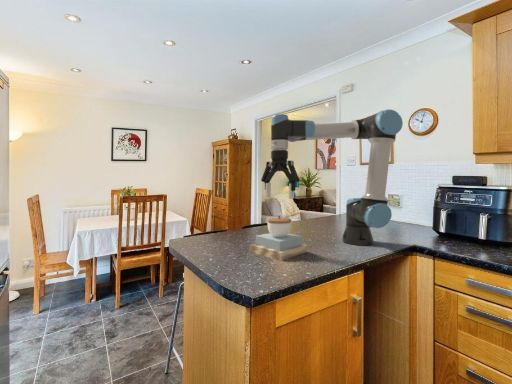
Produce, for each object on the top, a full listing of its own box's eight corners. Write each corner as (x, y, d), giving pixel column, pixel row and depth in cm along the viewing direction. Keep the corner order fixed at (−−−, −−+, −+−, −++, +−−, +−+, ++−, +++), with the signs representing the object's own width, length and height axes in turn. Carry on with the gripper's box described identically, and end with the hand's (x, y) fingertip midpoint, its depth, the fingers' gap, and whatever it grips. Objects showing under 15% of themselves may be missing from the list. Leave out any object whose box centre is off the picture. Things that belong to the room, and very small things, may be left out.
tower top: (302, 245, 124) (302, 236, 123) (279, 251, 114) (279, 241, 113) (278, 239, 135) (278, 231, 135) (255, 244, 125) (255, 235, 125)
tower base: (306, 253, 124) (306, 245, 124) (281, 262, 111) (281, 252, 111) (276, 246, 137) (276, 238, 137) (250, 253, 124) (250, 245, 124)
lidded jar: (263, 234, 127) (263, 214, 126) (283, 232, 131) (284, 213, 130) (273, 239, 117) (273, 218, 116) (295, 237, 121) (295, 216, 120)
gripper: (253, 151, 128) (253, 196, 129) (297, 147, 111) (297, 199, 112) (264, 152, 134) (264, 195, 135) (307, 148, 116) (307, 198, 117)
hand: (279, 197), depth 123 cm, fingers open, 13 cm apart
